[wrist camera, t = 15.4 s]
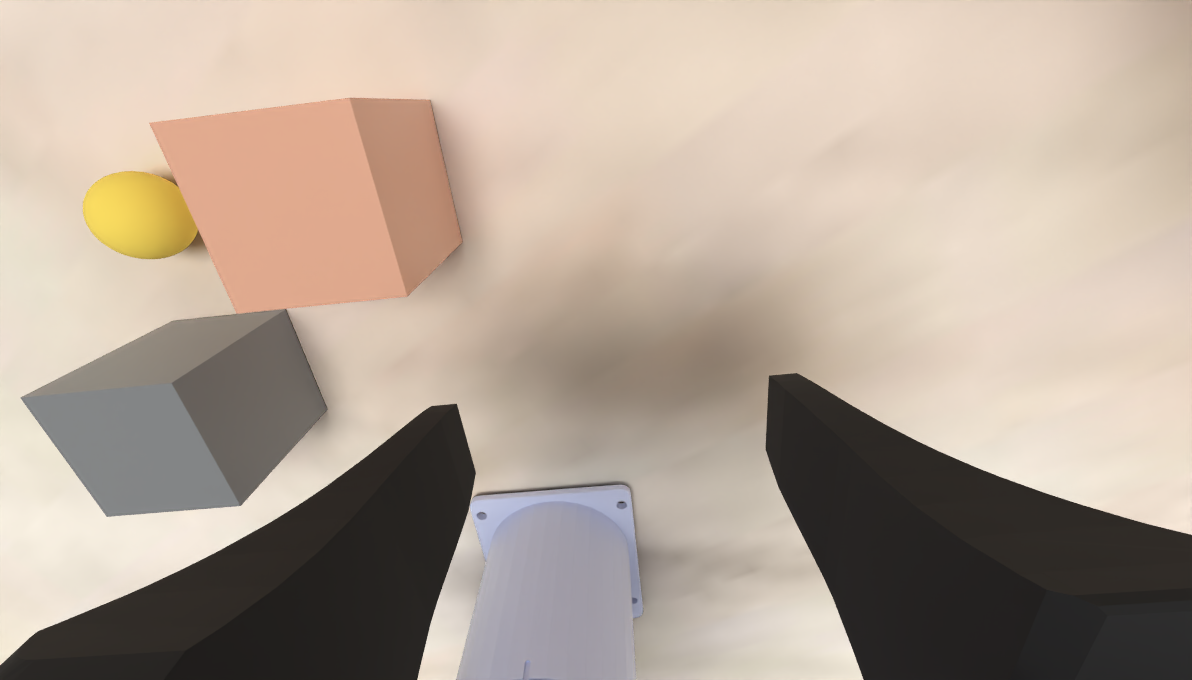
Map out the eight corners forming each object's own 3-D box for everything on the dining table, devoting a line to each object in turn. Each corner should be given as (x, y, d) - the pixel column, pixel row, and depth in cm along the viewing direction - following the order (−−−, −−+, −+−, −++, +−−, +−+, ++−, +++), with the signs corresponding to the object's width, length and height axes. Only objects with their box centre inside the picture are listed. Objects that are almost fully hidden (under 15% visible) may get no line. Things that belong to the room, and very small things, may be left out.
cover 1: (462, 242, 19) (407, 296, 14) (338, 255, 19) (236, 313, 14) (430, 99, 17) (349, 98, 12) (291, 117, 17) (149, 123, 12)
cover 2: (327, 409, 23) (240, 505, 17) (224, 419, 23) (107, 516, 17) (285, 309, 20) (171, 382, 15) (172, 321, 21) (20, 397, 15)
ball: (231, 242, 19) (171, 265, 17) (159, 250, 19) (88, 274, 17) (196, 161, 18) (124, 172, 15) (119, 171, 18) (35, 182, 15)
